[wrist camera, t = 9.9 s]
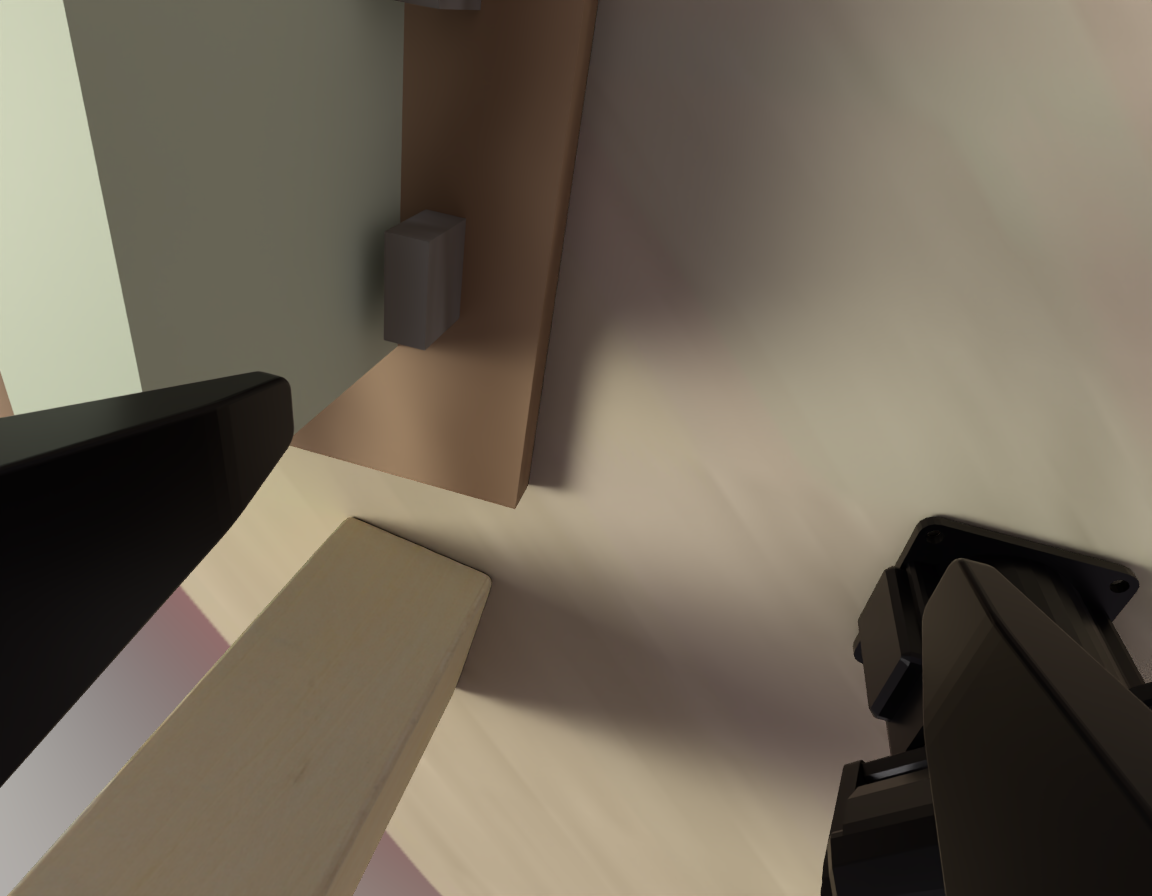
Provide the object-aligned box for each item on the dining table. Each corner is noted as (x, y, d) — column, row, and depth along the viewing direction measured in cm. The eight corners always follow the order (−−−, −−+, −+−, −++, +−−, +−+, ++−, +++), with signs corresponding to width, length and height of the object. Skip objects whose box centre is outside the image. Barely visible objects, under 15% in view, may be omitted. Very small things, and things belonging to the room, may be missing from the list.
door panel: (409, -260, 15) (-61, -611, 7) (397, 346, 22) (172, 538, 14) (279, -280, 15) (-325, -635, 7) (310, 323, 23) (41, 498, 15)
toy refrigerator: (330, 501, 29) (-365, 1244, 11) (497, 572, 29) (48, 1445, 11) (311, 627, 33) (-210, 1300, 16) (455, 689, 33) (88, 1444, 16)
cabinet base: (681, -573, 13) (610, -1000, 7) (528, 485, 26) (460, 608, 21) (-69, -637, 15) (-556, -1011, 9) (139, 377, 28) (-16, 464, 22)
